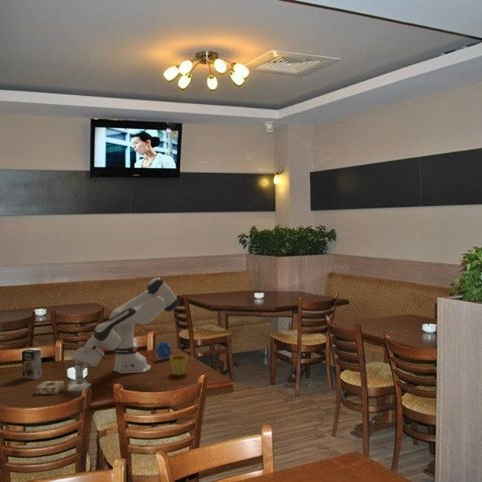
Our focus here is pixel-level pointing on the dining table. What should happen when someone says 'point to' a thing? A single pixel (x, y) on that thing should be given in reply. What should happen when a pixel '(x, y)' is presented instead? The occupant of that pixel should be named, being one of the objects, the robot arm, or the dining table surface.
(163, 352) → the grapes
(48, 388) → the pocket block
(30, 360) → the coffee box
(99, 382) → the dining table surface
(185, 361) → the plant pot
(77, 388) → the sage plate
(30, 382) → the dining table surface
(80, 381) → the metal peg
